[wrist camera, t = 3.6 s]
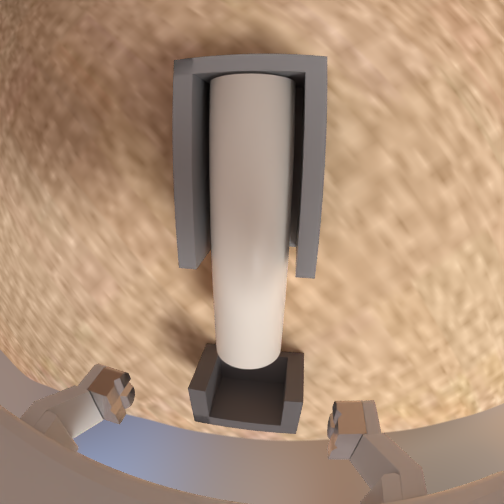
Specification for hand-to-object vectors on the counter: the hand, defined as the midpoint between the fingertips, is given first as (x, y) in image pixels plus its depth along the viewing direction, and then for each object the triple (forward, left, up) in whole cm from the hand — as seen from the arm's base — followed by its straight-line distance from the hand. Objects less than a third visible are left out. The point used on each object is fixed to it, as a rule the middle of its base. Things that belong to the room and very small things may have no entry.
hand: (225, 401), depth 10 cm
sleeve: (-8, 0, -10) cm, 13 cm away
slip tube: (-4, 0, -9) cm, 10 cm away
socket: (+8, 0, -10) cm, 13 cm away
